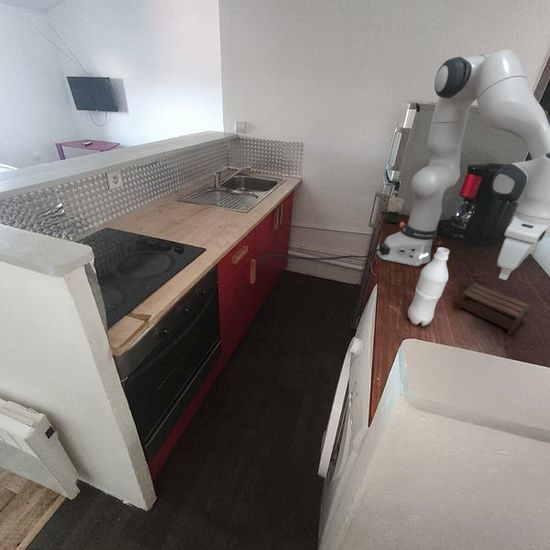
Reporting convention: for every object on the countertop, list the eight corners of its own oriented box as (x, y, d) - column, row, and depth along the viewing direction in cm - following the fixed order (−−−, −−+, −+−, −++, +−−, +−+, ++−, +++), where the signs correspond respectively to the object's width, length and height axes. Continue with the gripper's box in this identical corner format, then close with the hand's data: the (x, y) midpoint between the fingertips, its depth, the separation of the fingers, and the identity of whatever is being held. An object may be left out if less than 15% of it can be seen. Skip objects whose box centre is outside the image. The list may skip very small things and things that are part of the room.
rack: (509, 335, 88) (520, 319, 84) (454, 309, 98) (461, 293, 95) (521, 322, 93) (531, 305, 90) (468, 298, 104) (475, 282, 100)
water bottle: (401, 313, 95) (424, 244, 82) (422, 312, 96) (448, 243, 83) (412, 328, 89) (438, 256, 76) (434, 327, 90) (464, 255, 77)
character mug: (401, 225, 160) (407, 202, 153) (388, 225, 160) (394, 202, 153) (393, 218, 169) (399, 196, 163) (381, 218, 169) (386, 196, 162)
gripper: (529, 211, 80) (508, 256, 87) (503, 230, 69) (482, 280, 76) (558, 218, 76) (534, 264, 83) (536, 239, 65) (510, 290, 72)
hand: (509, 272), depth 80 cm, fingers open, 8 cm apart
